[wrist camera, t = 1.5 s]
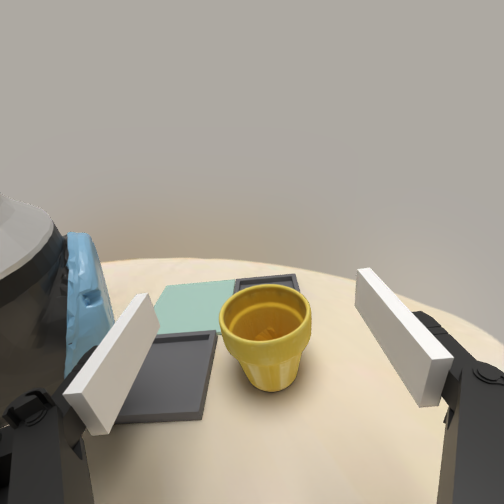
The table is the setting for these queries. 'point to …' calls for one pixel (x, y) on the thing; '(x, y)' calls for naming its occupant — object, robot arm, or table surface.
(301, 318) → the plant pot
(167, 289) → the pad
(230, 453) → the table surface
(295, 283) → the tray
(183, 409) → the tray
